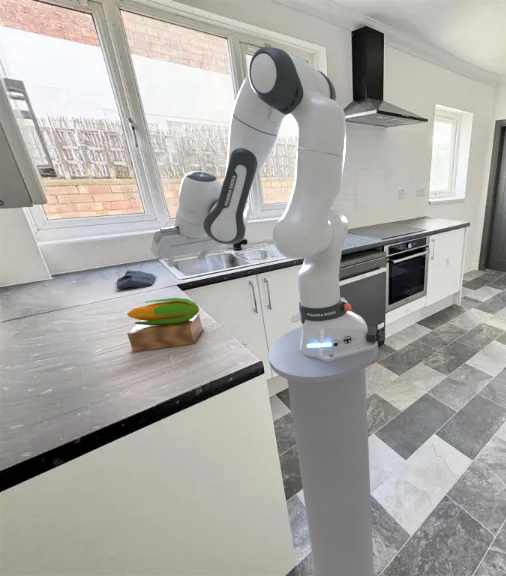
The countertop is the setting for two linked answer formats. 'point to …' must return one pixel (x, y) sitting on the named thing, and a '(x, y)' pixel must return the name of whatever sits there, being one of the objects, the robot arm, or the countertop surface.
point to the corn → (165, 312)
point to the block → (164, 335)
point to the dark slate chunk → (135, 279)
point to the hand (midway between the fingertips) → (186, 262)
